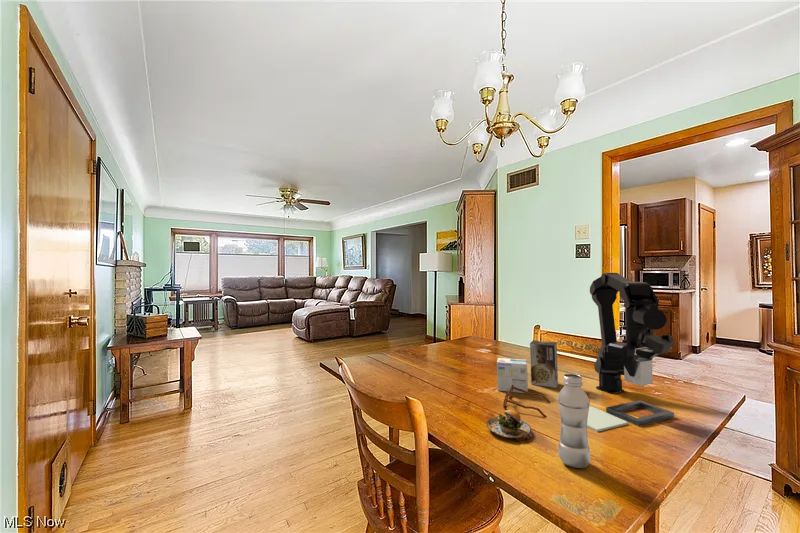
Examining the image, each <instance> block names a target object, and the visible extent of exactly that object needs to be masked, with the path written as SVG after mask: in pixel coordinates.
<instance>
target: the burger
mask: <svg viewBox="0 0 800 533" xmlns="http://www.w3.org/2000/svg"><path fill="white" fill-rule="evenodd" d="M516 408H517V406H515V408H514V409H506V410H505V411H504V412H503V413H504V415H505V416H503V414H502V413H499V414H498V416H497V417H496V416H495V417H492V418H490V419H489V420H488V421H487V422H486V427H487V428H488V429H489V430H490V431H491V432H493V433H494V434H496V435H497V436H499V437H502V438H508V439H515V440H516V442H517V443H522V442H525V439H527V440H530V439H531V438H532V435H533V433H532V427H531V426H530V425H529V424H528V423H527V422H525V421H524V420H522V419H521V414H519V413H518V412H517V411H516Z"/></svg>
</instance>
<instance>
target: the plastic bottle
mask: <svg viewBox="0 0 800 533" xmlns="http://www.w3.org/2000/svg"><path fill="white" fill-rule="evenodd" d="M562 384H564V385H563V387H562V388H561V389H560V391H559V392H558V395H557V403H558V409H559V418H560V434H559V440H558V446H557V452H558V457H559V459H560V461H561V462H562V463H563V464H564V465H567V466H568V467H571V468H574V469H584V468H586V467H587V466H589V464H590V462H591V457H592V455H591V450H590V444H589V438H588V437H589V434H588V427H587V420H588V412H589V406H591V405H590V403H591V401H590V399H589V396H588V394H587V393H586V392H585V390H584V389H583V388H582V387H583V378H582V376H581V375H580V374H575V373H565V374H563V383H562Z"/></svg>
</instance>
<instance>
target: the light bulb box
mask: <svg viewBox="0 0 800 533" xmlns="http://www.w3.org/2000/svg"><path fill="white" fill-rule="evenodd" d="M496 374H497V376H496V377H497V391H498V390H499V391H500V392H509V391H510V389H511V386H512V384H513V385H514V387H516V388H519V389H521V390H524V391H527V392H529V391H528V390H529V389H528V388H529V387H528V384H529V383H528V382H529V380H528V379H529V378H528V363H527V359H521V358H520V359H519V358H505V357H504V358H503V357H498V358H497V361H496ZM511 391H512V390H511ZM513 393H518V394H519V393H520V394H525V393H524V392H521V391H518V390H515V389H513Z"/></svg>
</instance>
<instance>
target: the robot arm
mask: <svg viewBox="0 0 800 533" xmlns="http://www.w3.org/2000/svg"><path fill="white" fill-rule="evenodd" d="M618 293H619V297H620V298H621V299H622V300H623V302H624V303H623V304H622V305H623V308H624V316H625V317H624V318H625V320H624V321H625V325H622V326H621V330H623V331H625V339H624V338H623V339H622V342H618V340H617V332H616V331H617V330H616V324H615V315H614V307H613V306H614V303H615V302H616V300H617V299H618ZM589 294H590V295H591V299H592V301H593V302H594V303H595V305H596V306H597V309H598V310H597V311H598V320H599V327H600V330H599V331H600V337H601V347H600V348H599V350H598V351H597V352H598V353H597V358H596V360H595V362H594V364H593V366H594V371H595V373H597V374H598V382H599V383H598V386H595V388H596V389H598V390H601V391H604V392H606V393H609V394H618V393H622V392H625V389H623V380H622V376H624V366H625V368H626V370H627V372H628V374H629V375H630V376H632V377H634V374H635V362H636V359H638V358H639V357H641V358H645V359H649V360H652V361H653V359H654V358H655V357H657V356H659V355H662V354H668V353H669V352H670V350H671V348H674V347H675V344H674V337H673V335H670V334H668V333H667V334H663V335H662V336H661V335H656V334H655V333H654V330H660V329H662V328H664V327H665V325H666V323H667V322H668V319H667V316H666V314H665V313H664V312H663V311H662V310H661V309H659V306H660V304H659V299H658V297H657V295H656V293H655V292H654V289H653V287H652V286H651V285H650V284H649V283H648V282H644V281H633V280H630V279H629V278H626V277H625V276H622V275H621V274H620V273H618V272H604V273H602V274H601V276H600V277H598V278H596V279H595V280H593V281H592V283H591V284H590V286H589Z"/></svg>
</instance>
